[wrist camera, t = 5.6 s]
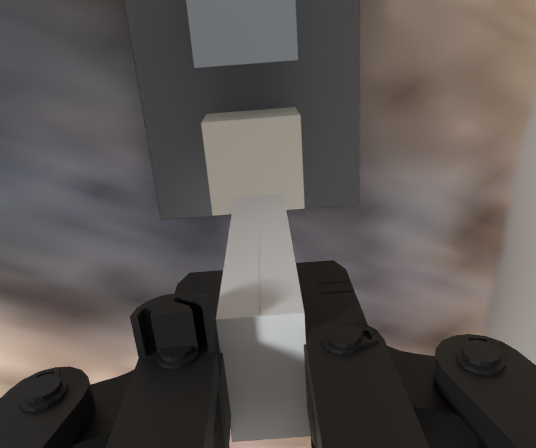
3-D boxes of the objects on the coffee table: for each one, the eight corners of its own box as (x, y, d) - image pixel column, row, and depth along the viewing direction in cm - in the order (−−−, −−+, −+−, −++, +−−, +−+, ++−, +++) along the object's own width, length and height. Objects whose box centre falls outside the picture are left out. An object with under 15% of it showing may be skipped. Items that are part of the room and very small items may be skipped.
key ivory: (219, 186, 28) (212, 215, 23) (210, 108, 26) (200, 122, 21) (296, 181, 28) (304, 208, 23) (292, 102, 26) (300, 114, 21)
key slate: (205, 63, 25) (194, 67, 20) (194, -34, 23) (179, -52, 19) (290, 56, 25) (298, 60, 20) (285, -41, 23) (292, -61, 19)
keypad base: (166, 208, 30) (161, 219, 28) (95, -233, 22) (80, -259, 20) (352, 194, 30) (358, 204, 28) (350, -252, 22) (360, -279, 20)
